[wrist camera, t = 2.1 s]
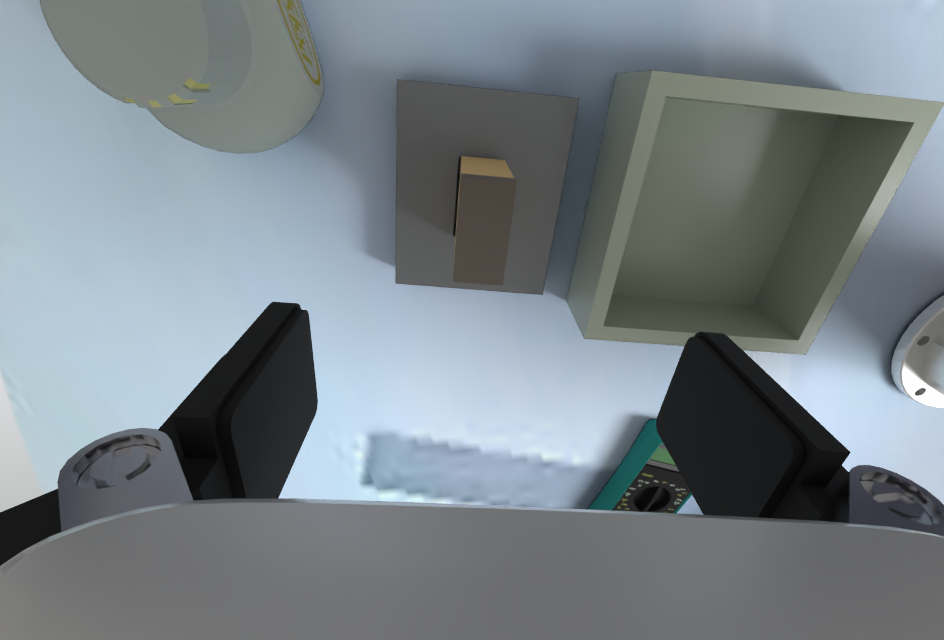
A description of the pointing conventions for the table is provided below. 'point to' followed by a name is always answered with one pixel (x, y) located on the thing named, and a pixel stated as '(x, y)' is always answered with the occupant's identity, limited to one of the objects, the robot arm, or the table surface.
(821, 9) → the table surface
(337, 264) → the table surface
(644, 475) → the digital multimeter
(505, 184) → the block
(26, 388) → the table surface
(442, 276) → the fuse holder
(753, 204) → the parts tray
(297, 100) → the air freshener
